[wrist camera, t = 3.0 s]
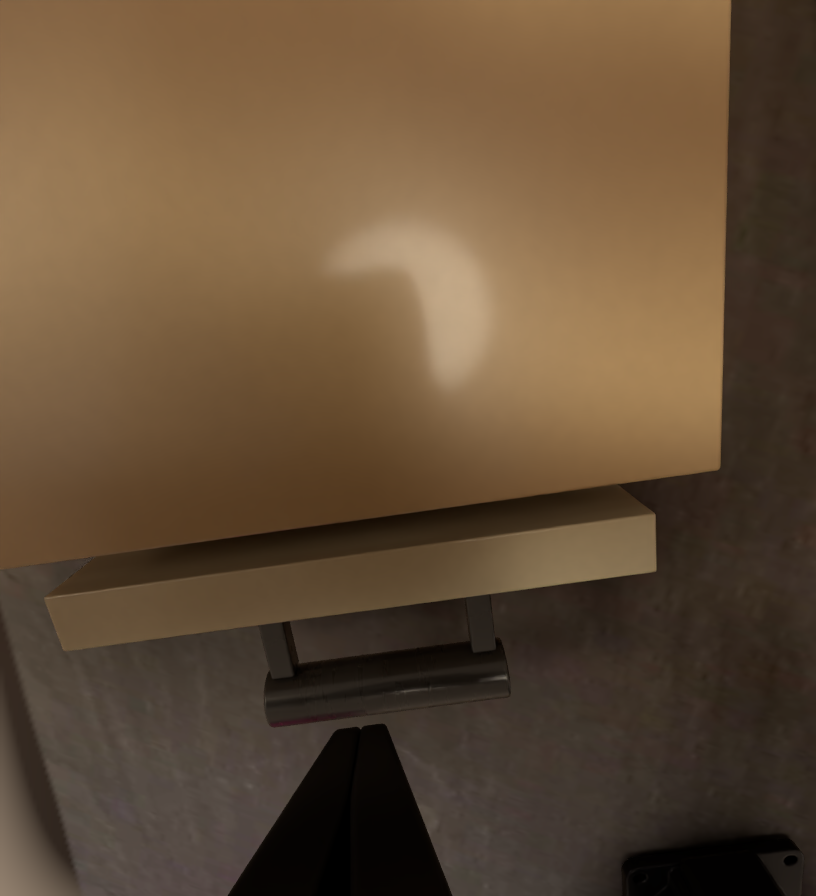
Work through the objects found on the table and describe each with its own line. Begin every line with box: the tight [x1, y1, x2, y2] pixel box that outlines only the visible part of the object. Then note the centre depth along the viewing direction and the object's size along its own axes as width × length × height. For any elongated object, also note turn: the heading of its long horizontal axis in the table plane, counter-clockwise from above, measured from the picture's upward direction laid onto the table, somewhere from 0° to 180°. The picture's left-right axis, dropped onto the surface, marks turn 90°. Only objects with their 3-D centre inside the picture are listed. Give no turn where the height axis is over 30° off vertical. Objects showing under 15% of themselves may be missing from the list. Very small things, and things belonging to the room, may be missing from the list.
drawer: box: [44, 484, 656, 728], centre depth 11 cm, size 16×11×5 cm
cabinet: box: [0, 0, 731, 570], centre depth 9 cm, size 13×13×7 cm
